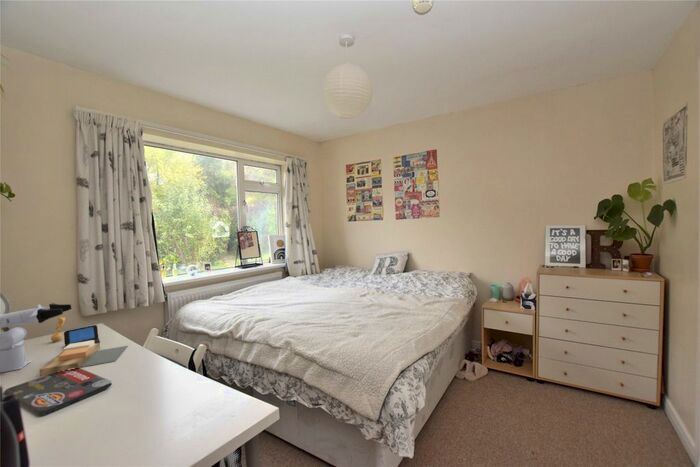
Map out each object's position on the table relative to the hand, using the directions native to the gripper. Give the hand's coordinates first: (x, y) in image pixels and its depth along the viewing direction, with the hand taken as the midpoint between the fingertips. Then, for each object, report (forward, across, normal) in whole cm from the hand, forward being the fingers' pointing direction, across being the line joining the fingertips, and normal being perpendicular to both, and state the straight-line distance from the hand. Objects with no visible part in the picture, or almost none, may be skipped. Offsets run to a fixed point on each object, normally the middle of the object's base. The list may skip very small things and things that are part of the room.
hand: (66, 309), depth 133 cm
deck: (0, -4, +22) cm, 22 cm away
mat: (+12, -6, +23) cm, 26 cm away
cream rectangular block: (0, +3, +19) cm, 20 cm away
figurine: (-18, +30, +20) cm, 41 cm away
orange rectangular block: (+2, -6, +20) cm, 21 cm away
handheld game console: (-4, +17, +22) cm, 28 cm away
